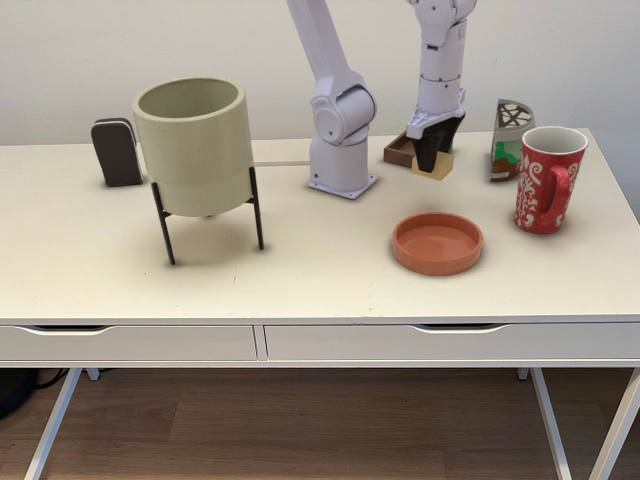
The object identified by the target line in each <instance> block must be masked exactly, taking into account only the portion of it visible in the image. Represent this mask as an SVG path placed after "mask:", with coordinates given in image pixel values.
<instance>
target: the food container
mask: <svg viewBox="0 0 640 480" xmlns="http://www.w3.org/2000/svg"><path fill="white" fill-rule="evenodd" d="M535 116H536V115H535V113H534V110H533V108H531V107H530V106H528V105H527V104H525V103H523V102H521V101H517V100H512V99H506V98H498V100H497V106H496V112H495V120H494V126H493V134H492V135H493V136H492V140H491V148H490V157H489V182H490V183H500V182H501V183H502V182H506V181H509V180H512V179H514V178H516V177H517V176H519V172H520V162H521V154H522V145H523V144H522V136H523V134H524V133H525V132H527V131H529V130H531V129H534V128H536V117H535Z"/></svg>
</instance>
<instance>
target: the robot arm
mask: <svg viewBox="0 0 640 480" xmlns="http://www.w3.org/2000/svg"><path fill="white" fill-rule="evenodd" d="M405 1H406V3H408V4H409V5H410V6H412V8H414V14H415V17H416V20H417V22H418V24H419V26H420V39H421V43H420V45H421V46H420V61H419V74H418V91H417V102H416V104H415V107H414V108H413V109H414V110H413V112H412V116H411V118H410V120H409V121H408V122H407V123H406V129H405V130H406V133H407V135H406V136H407V137H409V138H410V140H411V142H412V144H413V147H414V150H415V154H416V159H417V164H418V169H419V170H420V171H423V172H427V173H431V172H432V171H433V169H434V166H435V163H436V158H437V153H438V151H440V152H444V153H449V150H450V147H451V144H452V141H453V142H454V138H455V136H456V133H457V131H458V129H459V126H461V124H462V122H463V121H464V119H465V118H466V108H465V107H463V106H461V104H463V103H464V102H465V100H466V99H465V98H466V91H467V88H465V87H461V82H462V81H461V80H462V73H463V65H464V64H463V63H464V55H465V44H466V34H467V24H468V18H467V17H468V16H470V15H471V13H473V11H474V10H475V8H476V6H477V3H478V0H405ZM285 2H286V5H287V7H288V9H289V13H290V15H291V19H292V21H293V23H294V26H295V29H296V32H297V35H298V37H299V40H300V43H301V46H302V48H303V50H304V53H305V56H306V58H307V61H308V65H309V67H310V69H311V72H312V75H313V77H314V80H315V85H314V88H313V91H312V94H311V96H310V100H309V104H310V106H311V108H312V113H313V126H314V128H315V132H314V134H313V135H312V137H311V140H310V143H309V150H308V153H309V154H308V155H309V174H310V175H309V176H310V181H309V182H308V186H307V187H310V188H312V189H316V190H320V191H323V192H326V193H329V194H333V195H336V196H339V197H343V198H347V199H350V200H356V199H357V198H358V197H359V196H361V195H362V194H363V193H364V192H365V191H367V189H369V187H371V186H372V185H373V184H374V183H375V182H376V181H377V180H378V177H377V176H375V175H371V174H368V161H369V160H368V156H369V153H368V151H369V148H368V147H369V131H370V123H372V122H373V121H374V120H375V118H376V117H377V112H378V104H377V100H376V98H375V96H374V94H373V93H372V91H371V90H370V89H369V88H368V86H367V84H366V82H365V79H364V76H363V75H362V74H360V73H359V72H357V71H355V70H353V69H351V68H350V67H349V63H348V60H347V58H346V55H345V52H344V49H343V46H342V44H341V42H340V38H339V36H338V33H337V30H336V27H335V24H334V20H333V18H332V15H331V12H330V10H329V7H328V3H327V1H326V0H285Z"/></svg>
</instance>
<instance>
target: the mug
mask: <svg viewBox="0 0 640 480" xmlns="http://www.w3.org/2000/svg"><path fill="white" fill-rule="evenodd" d="M589 141H590V140H589V139H588V137H587V136H586V135H584V134H583V133H582V132H580V131H579V130H576V129H572V128H570V127H565V126H557V125H545V126H539V127H535V128H534V129H531V130H529V131H527V132H525V133H524V134H523V136H522V144H523V145H522V154H521V162H520V172H519V174H518V182H517V191H516V198H515V206H514V207H515V208H514V214H513V220H514V223H515V225H516V226H517V227H518V228H520V229H521V230H523V231H525V232H529V233H532V234H540V235H541V234H551V233H554V232H556V231H559V230H560V229H561V228H562V226H563V224H564V222H565V221H564V220H565V218H566V214H567V211H568V207H569V204H570V201H571V197H572V195H573V192H574V188H575V184H576V181H577V178H578V176H579V172H580V168H581V166H582V162H583V158H584V156H585V153H586V150H587V148H588V146H589Z"/></svg>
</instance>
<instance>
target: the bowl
mask: <svg viewBox="0 0 640 480" xmlns="http://www.w3.org/2000/svg"><path fill="white" fill-rule="evenodd" d="M483 242H484V236H483V232H482V230H481V229H480V228H479V225H477V224H476V223H474V222H473V221H472V220H470V219H468V218H466V217H464V216H462V215H459V214H455V213H451V212H443V211H426V212H420V213H416V214H413V215H409V216H407V217H406V218H404V219H402V220H400V222H398V223H397V224H396V225H395V226H394V229H393V231H392V243H391V245H392V249H391V251H392V254H393V257H394V258H395V259H396V261H397V262H398V263H399V264H400V265H401V266H403V267H404V268H406V269H408V270H409V271H413V272H415V273H419V274H423V275H429V276H450V275H455V274H458V273H459V274H460V273H462V272H465V271H467V270H469V269H471V268H472V267H473V266H475V264H476V263H477V262H478V261H479V260H480V257H481V254H482V253H481V252H482V247H483Z"/></svg>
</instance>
